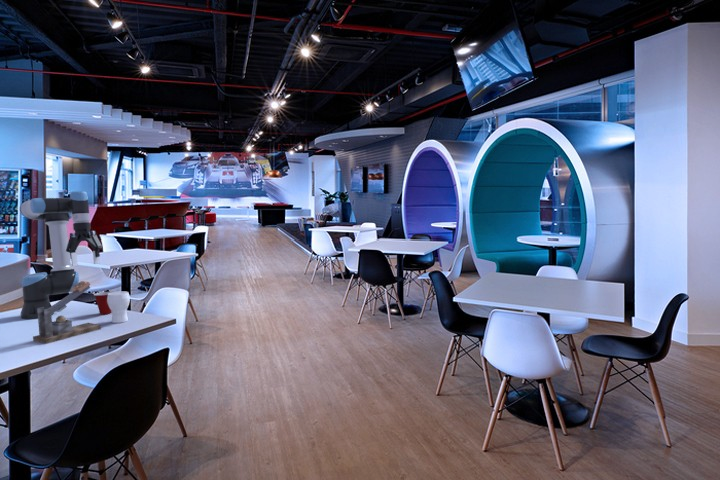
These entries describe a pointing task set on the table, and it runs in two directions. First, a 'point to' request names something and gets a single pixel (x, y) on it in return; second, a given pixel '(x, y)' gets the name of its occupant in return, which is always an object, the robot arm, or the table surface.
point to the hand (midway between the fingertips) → (85, 264)
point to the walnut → (60, 319)
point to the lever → (70, 296)
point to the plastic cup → (103, 303)
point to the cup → (118, 305)
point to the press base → (70, 334)
